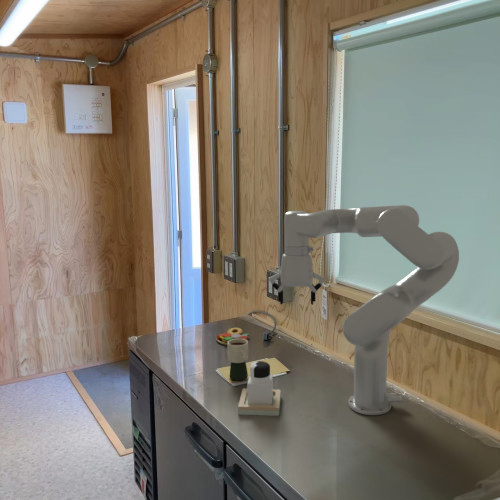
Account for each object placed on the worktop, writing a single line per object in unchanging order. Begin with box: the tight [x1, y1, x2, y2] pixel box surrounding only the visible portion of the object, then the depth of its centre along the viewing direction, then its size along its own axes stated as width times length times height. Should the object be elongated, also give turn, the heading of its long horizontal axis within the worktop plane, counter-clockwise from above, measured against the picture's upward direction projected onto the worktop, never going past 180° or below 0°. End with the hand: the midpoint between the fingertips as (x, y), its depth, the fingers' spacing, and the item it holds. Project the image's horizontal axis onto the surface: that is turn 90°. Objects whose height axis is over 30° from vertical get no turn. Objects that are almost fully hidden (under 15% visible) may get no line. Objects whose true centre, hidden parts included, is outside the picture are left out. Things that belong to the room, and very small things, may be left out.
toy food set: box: [215, 327, 250, 346], centre depth 216 cm, size 13×13×3 cm
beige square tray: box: [237, 387, 282, 417], centre depth 160 cm, size 12×12×2 cm
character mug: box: [226, 339, 250, 381], centre depth 179 cm, size 11×7×13 cm, turn 25°
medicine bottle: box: [246, 360, 274, 405], centre depth 159 cm, size 7×7×12 cm
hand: (296, 303), depth 168 cm, fingers open, 9 cm apart
